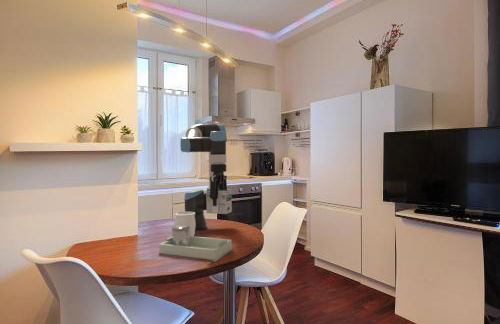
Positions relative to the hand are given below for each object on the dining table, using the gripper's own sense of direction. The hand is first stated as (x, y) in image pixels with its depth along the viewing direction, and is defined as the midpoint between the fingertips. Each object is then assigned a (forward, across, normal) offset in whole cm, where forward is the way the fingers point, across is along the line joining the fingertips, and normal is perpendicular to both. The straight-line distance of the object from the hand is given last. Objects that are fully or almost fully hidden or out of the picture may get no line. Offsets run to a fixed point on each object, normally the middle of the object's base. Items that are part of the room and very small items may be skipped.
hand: (219, 211), depth 149 cm
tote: (+18, +10, -7) cm, 22 cm away
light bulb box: (+1, 0, 0) cm, 1 cm away
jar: (+18, -5, -22) cm, 29 cm away
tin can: (+17, +10, -15) cm, 25 cm away
